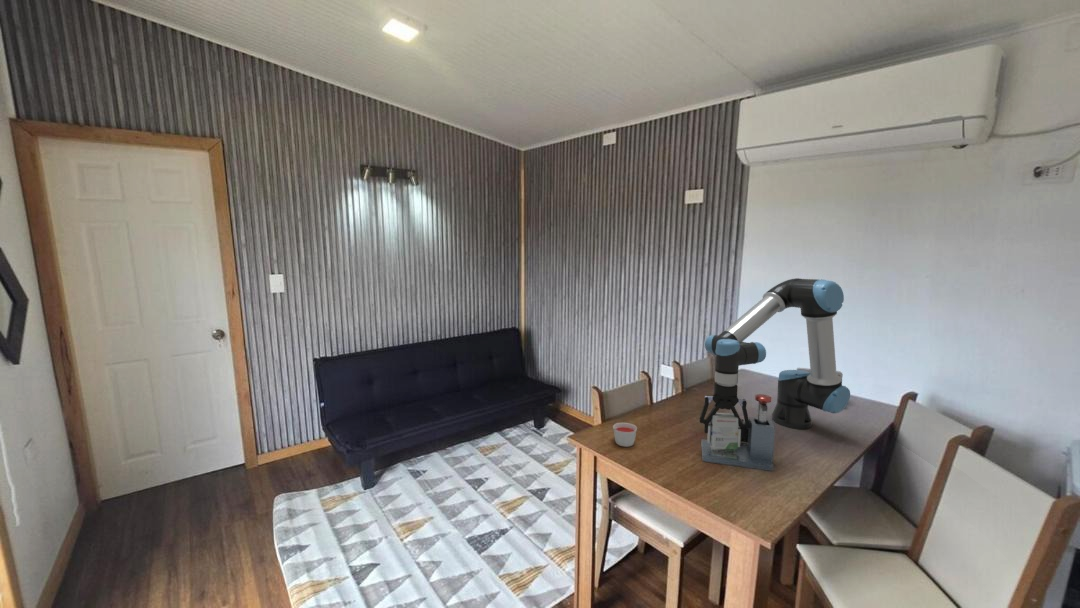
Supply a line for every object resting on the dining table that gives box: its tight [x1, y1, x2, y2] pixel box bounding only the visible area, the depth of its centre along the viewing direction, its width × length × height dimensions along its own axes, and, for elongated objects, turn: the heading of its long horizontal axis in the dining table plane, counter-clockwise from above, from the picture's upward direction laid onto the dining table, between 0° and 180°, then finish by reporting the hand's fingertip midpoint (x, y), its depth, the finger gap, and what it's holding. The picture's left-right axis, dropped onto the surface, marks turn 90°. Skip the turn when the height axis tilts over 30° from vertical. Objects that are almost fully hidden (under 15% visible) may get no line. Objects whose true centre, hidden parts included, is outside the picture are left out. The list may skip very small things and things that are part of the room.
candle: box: [612, 422, 638, 448], centre depth 163 cm, size 9×9×6 cm
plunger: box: [754, 393, 772, 425], centre depth 147 cm, size 5×9×15 cm, turn 161°
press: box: [700, 416, 776, 472], centre depth 150 cm, size 22×14×14 cm, turn 71°
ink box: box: [710, 412, 739, 449], centre depth 151 cm, size 9×5×12 cm, turn 84°
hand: (723, 443), depth 152 cm, fingers closed on ink box, 9 cm apart
